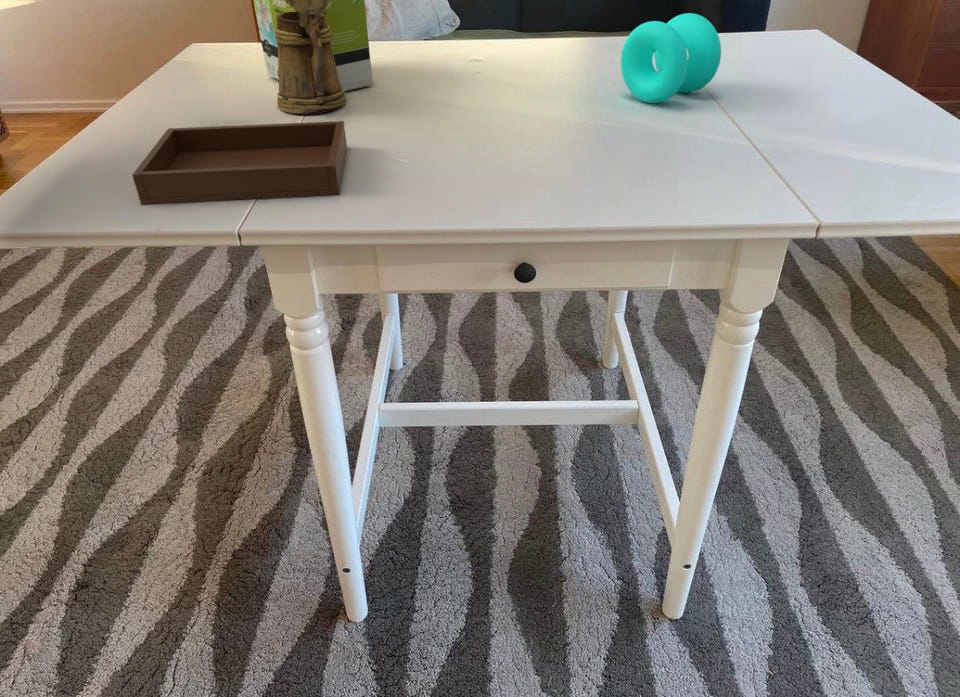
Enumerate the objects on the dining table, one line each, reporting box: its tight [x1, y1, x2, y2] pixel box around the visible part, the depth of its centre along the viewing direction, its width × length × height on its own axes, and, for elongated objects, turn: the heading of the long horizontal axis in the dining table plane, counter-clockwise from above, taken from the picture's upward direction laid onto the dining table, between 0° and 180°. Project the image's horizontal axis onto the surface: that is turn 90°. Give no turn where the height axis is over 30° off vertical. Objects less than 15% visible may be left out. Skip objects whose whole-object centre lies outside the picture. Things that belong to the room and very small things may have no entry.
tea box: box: [253, 0, 373, 92], centre depth 102 cm, size 15×10×15 cm, turn 39°
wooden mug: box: [275, 0, 347, 115], centre depth 91 cm, size 9×14×18 cm, turn 26°
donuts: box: [620, 12, 722, 104], centre depth 96 cm, size 10×10×10 cm
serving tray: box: [131, 120, 348, 205], centre depth 77 cm, size 20×14×3 cm
